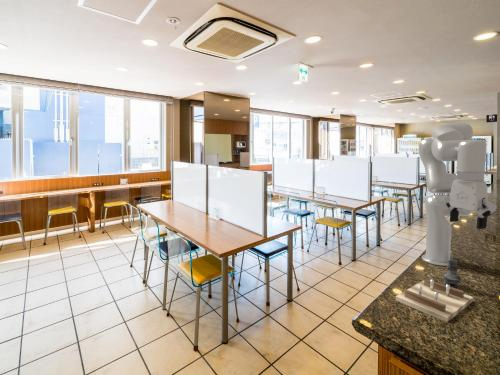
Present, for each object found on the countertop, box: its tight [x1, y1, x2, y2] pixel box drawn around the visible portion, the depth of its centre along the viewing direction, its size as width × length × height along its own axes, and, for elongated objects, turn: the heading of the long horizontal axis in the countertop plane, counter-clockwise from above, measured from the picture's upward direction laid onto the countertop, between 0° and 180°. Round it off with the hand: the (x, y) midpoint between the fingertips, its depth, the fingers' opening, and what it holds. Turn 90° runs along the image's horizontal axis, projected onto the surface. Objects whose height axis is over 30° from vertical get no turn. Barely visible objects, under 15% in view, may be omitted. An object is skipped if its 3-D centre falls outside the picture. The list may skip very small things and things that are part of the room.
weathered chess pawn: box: [442, 255, 462, 290], centre depth 104 cm, size 6×6×12 cm
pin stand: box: [395, 278, 474, 323], centre depth 95 cm, size 20×16×6 cm
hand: (466, 224), depth 95 cm, fingers open, 9 cm apart
